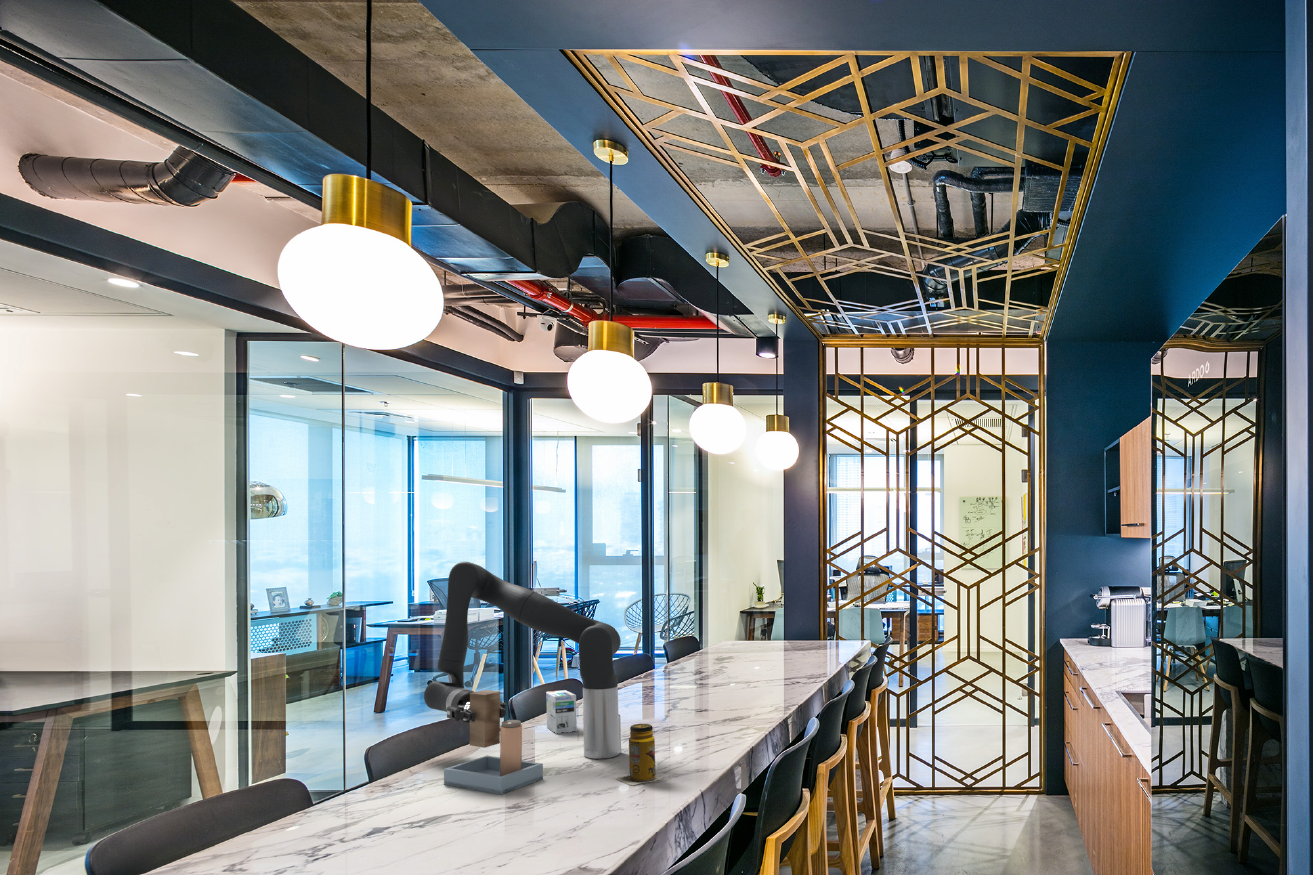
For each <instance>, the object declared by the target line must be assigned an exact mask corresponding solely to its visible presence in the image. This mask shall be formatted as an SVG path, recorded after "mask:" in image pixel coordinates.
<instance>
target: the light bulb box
mask: <svg viewBox="0 0 1313 875" xmlns="http://www.w3.org/2000/svg"><path fill="white" fill-rule="evenodd" d="M545 694H546V696H545V697H546V728H547V729H548V728H549V729H548V730H550V731H552V733H554V732H555V733H558V734H562V733H561V732H568V733H573V732H572V731H576V732H578V731H577V730H578V727H577V695H576V694H575V693H573V692H571V691H568V690H566V689H564V690H554V691H553V690H552V691H551V690H550V691H546V693H545ZM555 733H554V734H555Z"/></svg>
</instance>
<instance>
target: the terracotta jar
mask: <svg viewBox="0 0 1313 875" xmlns="http://www.w3.org/2000/svg"><path fill="white" fill-rule="evenodd" d="M499 746H500V748H499V749H500V750H499V757H500V776H504V775H507V774H510V773H512V772H515V771H518V770H521V769H522V761H523V724H522V721H521V720H518V719H508V720H504V721H502V722H501V724H500V743H499Z"/></svg>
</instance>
